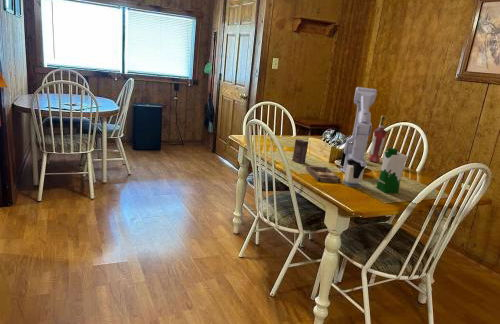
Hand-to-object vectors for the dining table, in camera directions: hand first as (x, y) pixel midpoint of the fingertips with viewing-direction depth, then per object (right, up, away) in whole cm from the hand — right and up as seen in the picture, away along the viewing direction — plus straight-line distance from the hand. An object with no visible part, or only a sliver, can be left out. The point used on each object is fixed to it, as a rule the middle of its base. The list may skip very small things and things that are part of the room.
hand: (353, 176), depth 171 cm
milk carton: (+15, -7, -2) cm, 17 cm away
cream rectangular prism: (0, -2, 0) cm, 2 cm away
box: (-22, +7, +30) cm, 38 cm away
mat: (0, -4, +1) cm, 4 cm away
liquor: (+27, +7, +51) cm, 59 cm away
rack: (-13, 0, +9) cm, 16 cm away
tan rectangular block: (-12, -2, +5) cm, 13 cm away
